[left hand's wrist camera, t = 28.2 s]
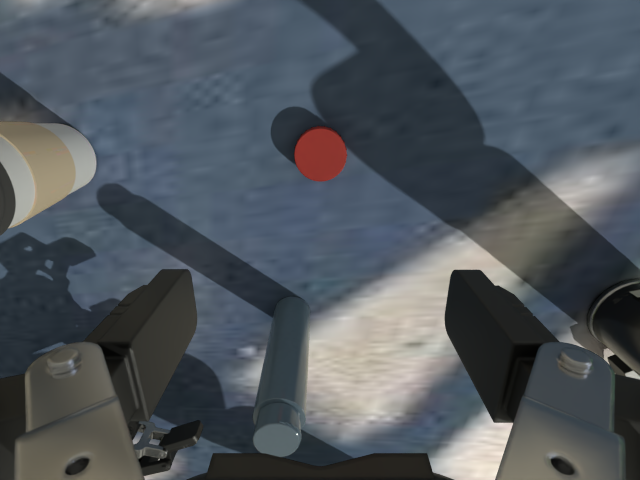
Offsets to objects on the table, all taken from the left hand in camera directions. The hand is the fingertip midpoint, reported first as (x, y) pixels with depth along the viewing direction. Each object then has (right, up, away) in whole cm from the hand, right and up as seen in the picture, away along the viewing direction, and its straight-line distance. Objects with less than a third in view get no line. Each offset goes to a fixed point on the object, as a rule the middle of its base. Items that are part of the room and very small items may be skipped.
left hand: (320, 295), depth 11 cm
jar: (-3, -7, +34) cm, 35 cm away
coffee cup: (-27, +10, +27) cm, 39 cm away
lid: (0, +10, +25) cm, 27 cm away
